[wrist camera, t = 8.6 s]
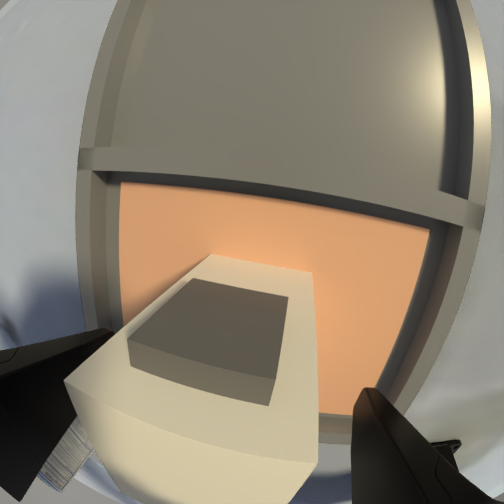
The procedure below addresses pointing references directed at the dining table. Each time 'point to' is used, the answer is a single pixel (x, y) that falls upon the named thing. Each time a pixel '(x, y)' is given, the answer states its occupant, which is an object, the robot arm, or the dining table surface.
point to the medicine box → (66, 457)
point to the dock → (293, 170)
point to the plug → (209, 389)
